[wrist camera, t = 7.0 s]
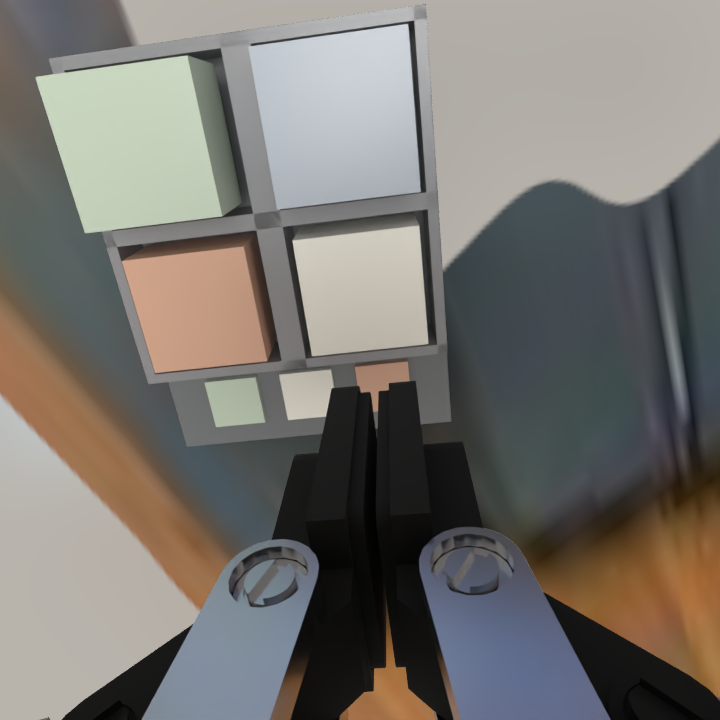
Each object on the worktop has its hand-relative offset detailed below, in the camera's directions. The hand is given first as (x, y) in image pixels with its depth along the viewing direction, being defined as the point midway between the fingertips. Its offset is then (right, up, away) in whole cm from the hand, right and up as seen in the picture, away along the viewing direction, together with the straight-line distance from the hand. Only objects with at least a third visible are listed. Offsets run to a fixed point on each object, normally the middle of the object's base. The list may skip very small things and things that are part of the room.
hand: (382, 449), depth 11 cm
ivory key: (0, +6, +12) cm, 14 cm away
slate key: (-1, +10, +8) cm, 13 cm away
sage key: (-7, +10, +9) cm, 15 cm away
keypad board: (-4, +7, +14) cm, 16 cm away
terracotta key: (-7, +5, +13) cm, 15 cm away
